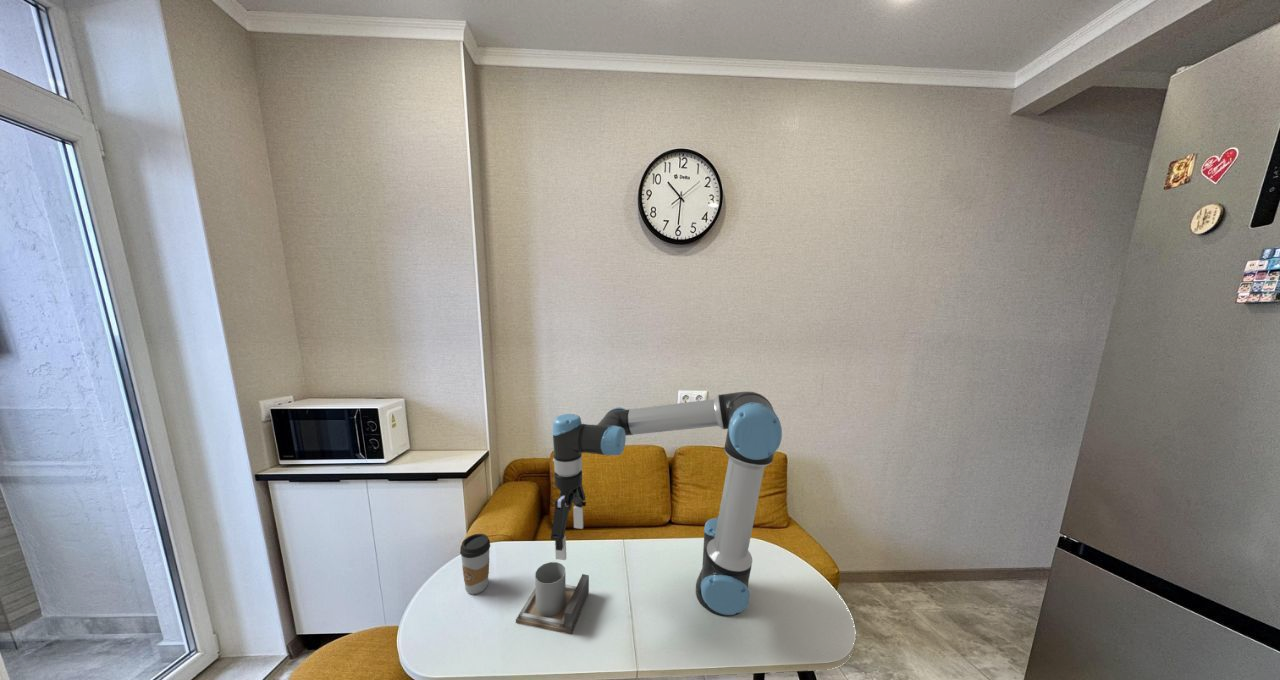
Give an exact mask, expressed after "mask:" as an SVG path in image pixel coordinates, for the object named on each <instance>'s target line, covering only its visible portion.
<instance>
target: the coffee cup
mask: <svg viewBox="0 0 1280 680" xmlns="http://www.w3.org/2000/svg"><path fill="white" fill-rule="evenodd" d="M490 548H491V542H490V539H489V537H488V535H487V534H485V533H474V534H472V535H469V536H467V537H466V538H465V539H463V541H462V542H461V545H460V550H459V553H460V555H461V563H462V564H461V566H462V574H463V582H464V589H465V591H466V593H467V594H469V595H477V594H480V593H482V592H483V591H484V590H486V588H487V587H488V584H489V574H490Z"/></svg>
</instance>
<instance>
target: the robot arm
mask: <svg viewBox="0 0 1280 680" xmlns="http://www.w3.org/2000/svg"><path fill="white" fill-rule="evenodd" d="M781 424H782V423H781V421H780V418H779V417H778V415H777V414H776V412H775V410H774V407H773V406H772V403H771V402H770V401H769V399H767V398H766V397H765V396H764V395H762V394H761V393H758V392H755V391H738V392H731V393H721V394H717V395H716V396H715V397H714V398H713V399H705V400H704V399H703V400H695V401H688V402H680V403H671V404H662V405H655V406H647V407H638V408H631V409H630V408H629V409H625V408H624V407H620V406H619V407H618V406H617V407H614V408H612V409H611V410H609V411H608V412H606V414H605V415H604V416H603V418H602V419H601V420H600V421H599V422H598V423H597V424H588V423H587V424H586V423H582V419H581V417H580V416H579V415H578V414H575V413H563V414H560V415H558V416H557V417H556V416H555V418H554V419H553V422H552V434H551V435H552V440H553V459H552V462H553V466H554V467H553V468H554V469H553V471H554V476H553V477H554V486H555V488H556V489H558V490H559V492H560V493H559V497H558V498H555V500H554V512H553V513H554V514H553V520H552V527H551V534H550V540H551V541H554V546H555V547H554V549H555V550H554V551H555V560H561V561H566V560H567V536H566V535H565V534H566V533H565V532H566V528H567V522H568V519H569V514H570V511H572V508H573V513H572V514H573V528H574V529H579V530H580V529H581V530H583V529H584V507H586V504H587V502H586V495H585V491H584V487H583V456H582V454H585V453H586V454H594V455H603V456H620V455H622V454H623V452H624V449H625V446H626V439H627V438H626V436H634V435H643V434H651V433H652V434H653V433H663V432H673V431H683V430H693V429H702V428H712V427H713V428H714V427H719V428H721V429H722V430H727V432H726V436H725V444H724V453H725V454H726V455H727V457H728V460H727V461H728V462H727V467H726V473H725V478H724V484H723V488H722V489H723V490H722V494H721V501H720V506H719V512H718V516H717V517H714V518H710V519H708V520H707V521H706V522H705V524H704V529H703V547H702V548H703V552H702V553H703V555H702V567H701V570H700V572H699V575H698V577H697V580H696V582H695V596H696V598H697V601H698V602H699V604H700V605H701V606H702V607H703V608H705V610H707V611H709V612H711V613H712V614H715V615H718V616H722V617H730V616H731V617H732V616H736V615H738V614H740V613H742V612H743V611H745V609H746V608H747V607H748V605H749V602H750V589H749V582H750V577H751V571H752V565H753V557H752V554H751V552H750V551H749V547H750V542H751V538H752V533H753V527H754V521H755V517H756V511H757V507H758V502H759V496H760V492H761V486H762V481H763V477H764V472H765V467H768V466H770V465H771V464H772V463H773V461H774V456H775V453H776V452H777V450H779V447H780V445H781V441H782V436H783V431H782V425H781ZM573 504H574V506H573Z"/></svg>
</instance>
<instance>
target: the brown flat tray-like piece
mask: <svg viewBox="0 0 1280 680" xmlns="http://www.w3.org/2000/svg"><path fill="white" fill-rule="evenodd" d="M589 593H590V575H589V574H584V573H582V574H581V577H580V579H579V581H578V583H577V585H571V584H566V605H565V607H564V609H563V610H562V611H561V612H560V613H559V614H557V615H554V616H552V617H544V616H541V615H539V614H538V612H537V611H536V593H535V588H534V589H533V590H532V592H531V594H530V595H529V597H528V599H527V600H526V602H525V603H524V605H523V607H522V608H521V610H520V612H519V613H518V615H517V617H516V619H515V624H519V625H523V626H530V627H534V628H538V629H543V630H548V631H553V632H558V633H563V634H567V635H568V634H569V635H572V634H573V631H574V630H575V626H576V625H577V623H578V620H579V617H580V615H581V613H582V610H583V608H584V607H585V603H586V601H587V599H588V597H589Z"/></svg>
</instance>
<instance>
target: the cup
mask: <svg viewBox="0 0 1280 680" xmlns="http://www.w3.org/2000/svg"><path fill="white" fill-rule="evenodd" d="M534 576H535V577H534V579H535V582H534V584H535V588H534V589H535V593H536V611H537V612H538V614H539V615H541V616H544V617H552V616H554V615H557V614H559V613H560V612H561V611H562V610H563V609H564V607H565V605H566V585H567V583H566V567H565V566H564V565H563V564H562V563H560V562H559V561H558V562H555V561H549V562H546V563H544V564H541V565H540V566H539V567H538V568H537V570H536V571H535V573H534Z"/></svg>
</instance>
